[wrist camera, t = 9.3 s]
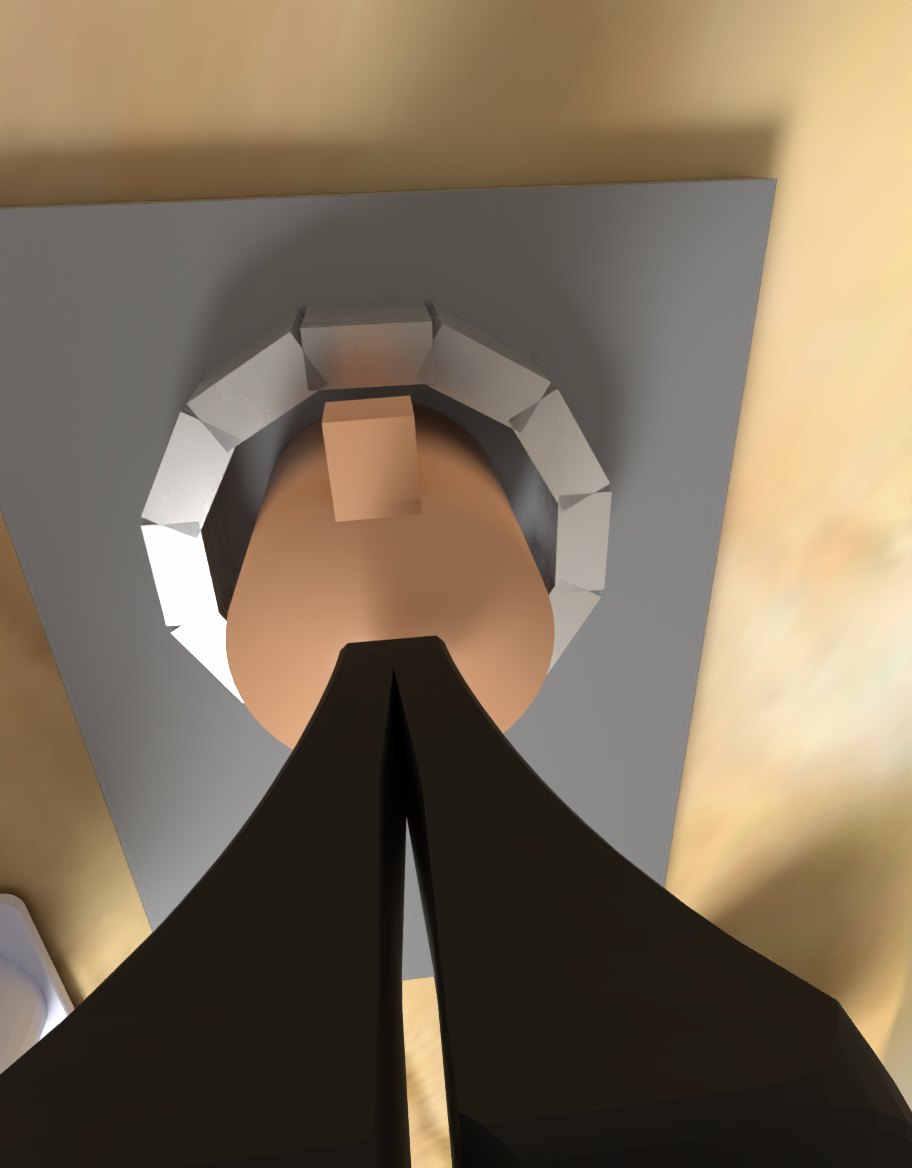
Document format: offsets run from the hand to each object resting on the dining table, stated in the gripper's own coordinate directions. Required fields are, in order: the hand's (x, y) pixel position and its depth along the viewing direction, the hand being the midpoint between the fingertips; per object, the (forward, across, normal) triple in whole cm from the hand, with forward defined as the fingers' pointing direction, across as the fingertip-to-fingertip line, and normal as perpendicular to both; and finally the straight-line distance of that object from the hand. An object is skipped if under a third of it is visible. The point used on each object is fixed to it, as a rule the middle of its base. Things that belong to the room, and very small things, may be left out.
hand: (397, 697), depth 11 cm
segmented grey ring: (+6, 0, 0) cm, 6 cm away
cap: (+6, 0, 0) cm, 6 cm away
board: (+7, 0, +5) cm, 9 cm away
